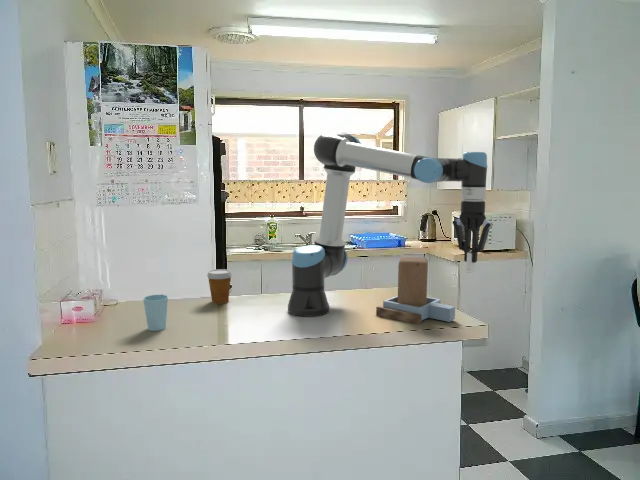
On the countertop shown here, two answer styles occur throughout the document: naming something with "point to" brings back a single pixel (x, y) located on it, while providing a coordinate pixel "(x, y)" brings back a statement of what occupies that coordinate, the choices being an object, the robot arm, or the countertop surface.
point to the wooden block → (412, 281)
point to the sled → (424, 309)
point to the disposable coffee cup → (219, 285)
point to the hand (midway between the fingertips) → (470, 271)
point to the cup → (156, 311)
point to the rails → (399, 314)
